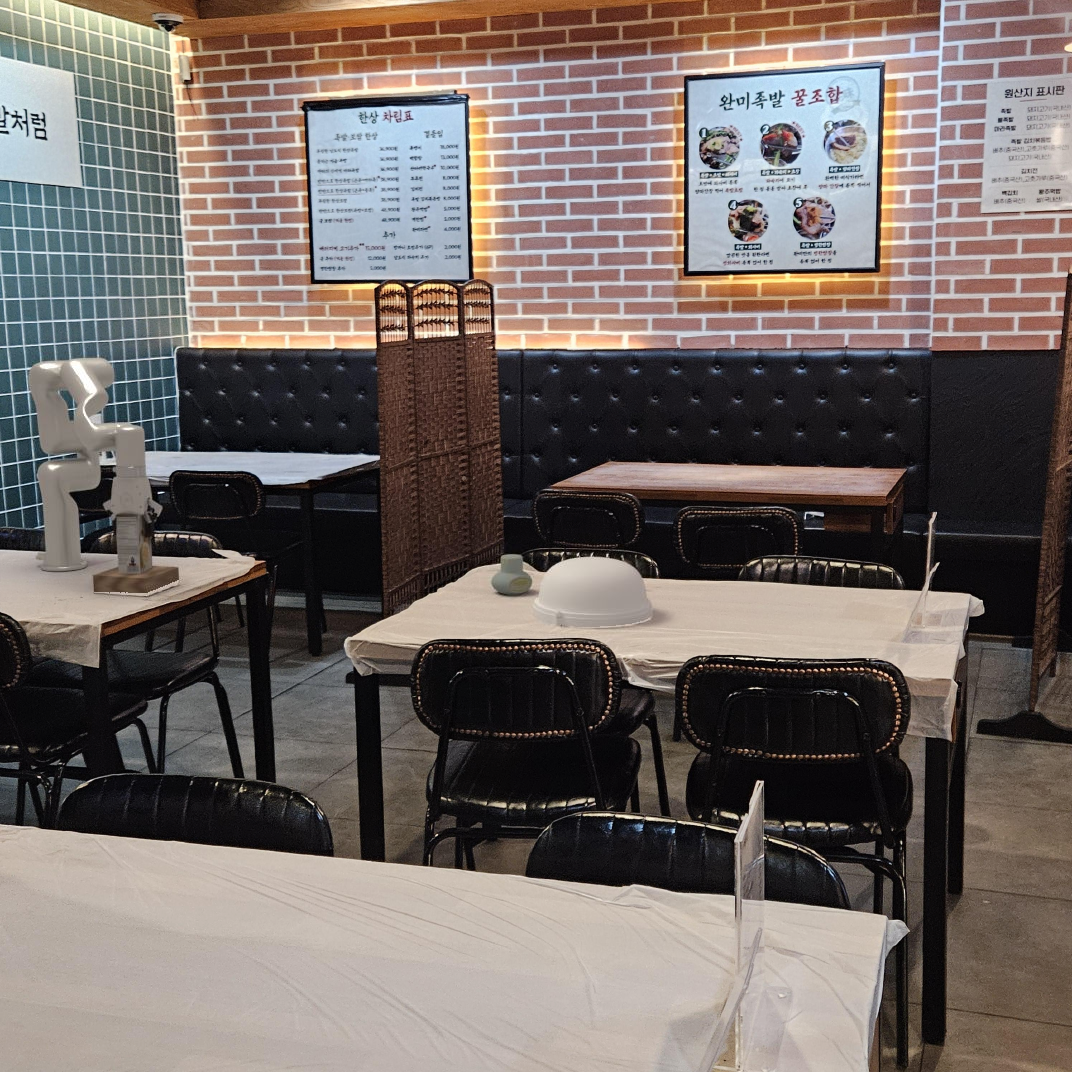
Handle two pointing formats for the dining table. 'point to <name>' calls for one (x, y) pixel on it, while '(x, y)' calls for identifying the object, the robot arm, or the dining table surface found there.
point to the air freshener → (511, 576)
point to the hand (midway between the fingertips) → (133, 535)
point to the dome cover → (592, 594)
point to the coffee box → (132, 544)
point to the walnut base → (135, 580)
